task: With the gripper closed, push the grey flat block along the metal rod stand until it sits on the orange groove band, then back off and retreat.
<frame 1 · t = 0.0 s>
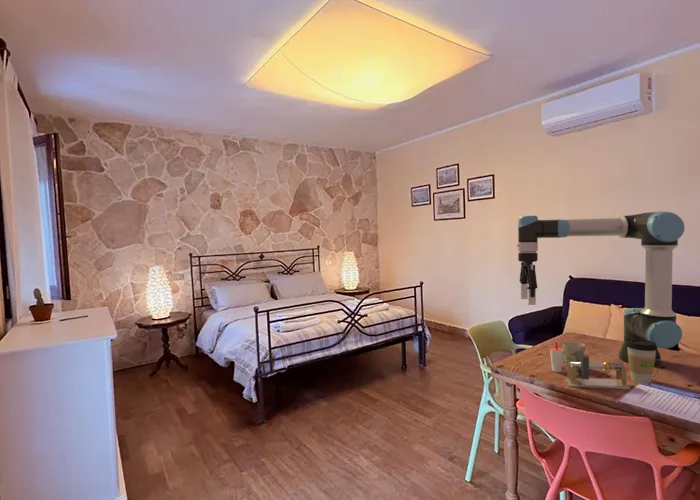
hand: (527, 301, 172), 28 cm above the table, fingers open, 13 cm apart
cup: (556, 371, 167), on the table
mug: (568, 367, 171), on the table
coffee cup: (641, 380, 155), on the table
metal rod stand: (596, 384, 153), on the table
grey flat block: (581, 364, 153), point 7 cm above the table, slide at 0.0 cm
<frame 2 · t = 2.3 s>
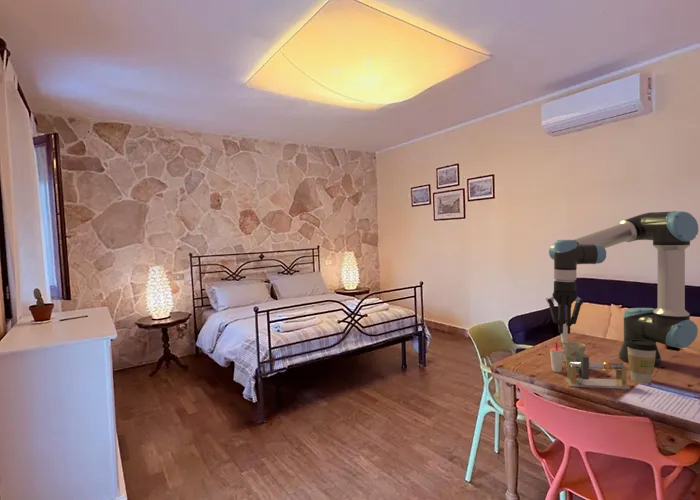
hand: (564, 341, 154), 16 cm above the table, fingers closed
nothing on the table moved.
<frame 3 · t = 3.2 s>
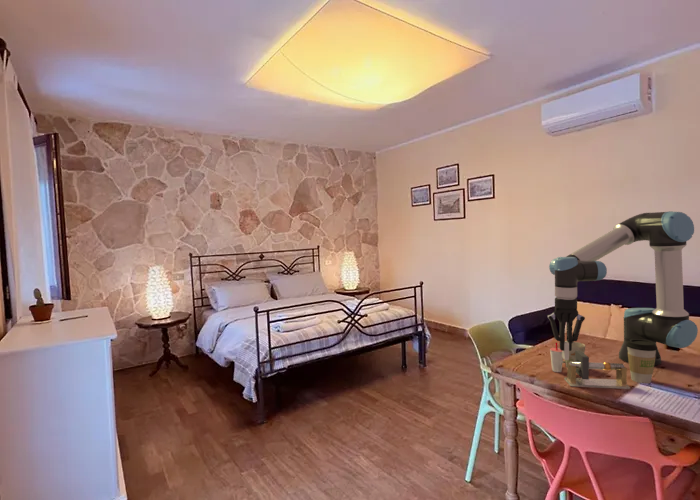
hand: (565, 358, 154), 9 cm above the table, fingers closed
nothing on the table moved.
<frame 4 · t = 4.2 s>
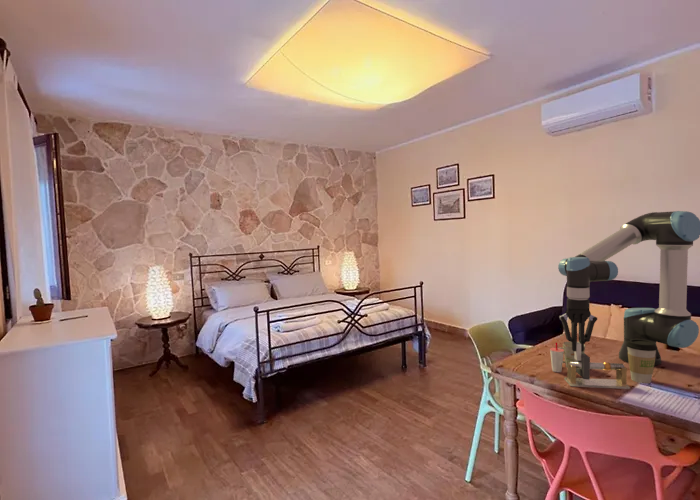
hand: (577, 359, 153), 9 cm above the table, fingers closed
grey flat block: (582, 364, 153), point 7 cm above the table, slide at 0.3 cm, touching gripper
everything else where it was.
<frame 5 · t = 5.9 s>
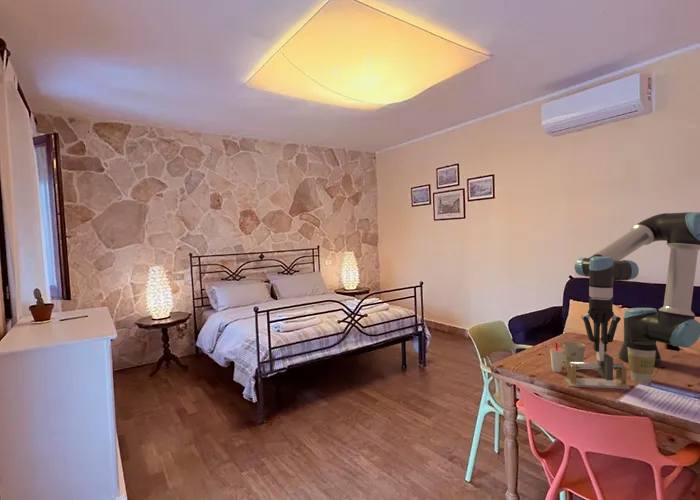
hand: (600, 359, 152), 9 cm above the table, fingers closed
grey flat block: (605, 365, 152), point 7 cm above the table, slide at 8.1 cm, touching gripper
everything else where it was.
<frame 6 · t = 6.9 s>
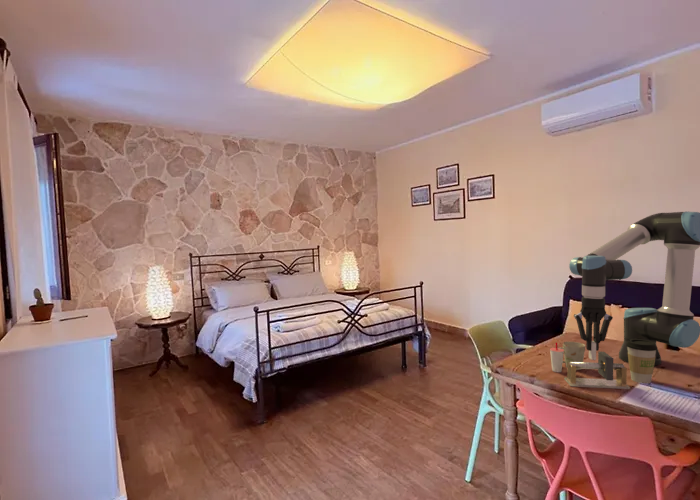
hand: (592, 358, 152), 10 cm above the table, fingers closed
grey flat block: (605, 365, 152), point 7 cm above the table, slide at 8.2 cm
everything else where it was.
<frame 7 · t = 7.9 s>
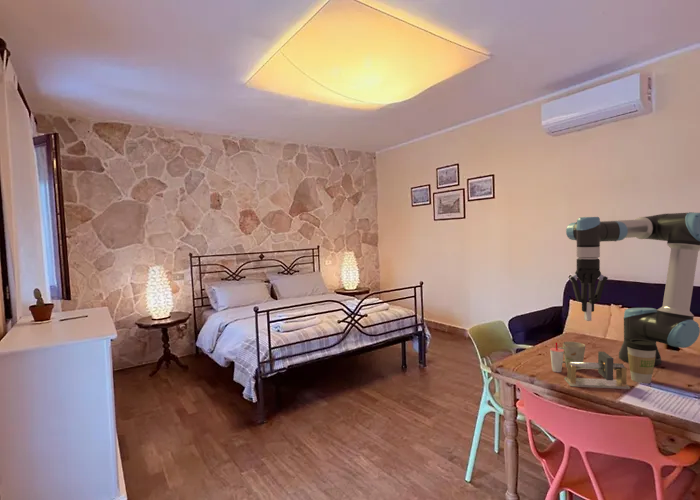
hand: (587, 320, 153), 24 cm above the table, fingers closed
nothing on the table moved.
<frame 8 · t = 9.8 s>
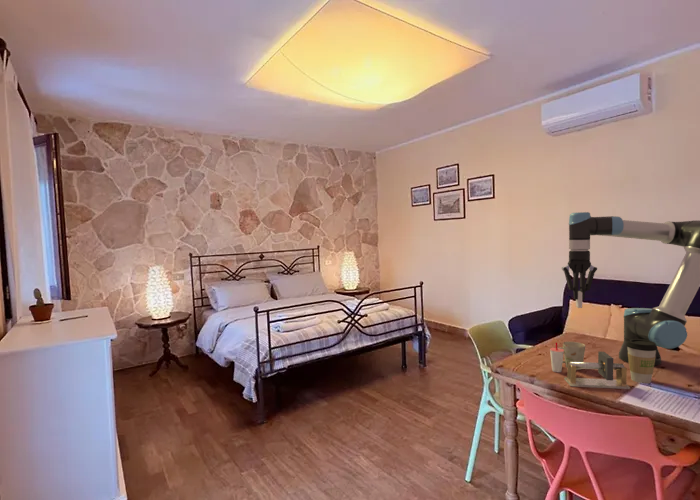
hand: (579, 307, 166), 26 cm above the table, fingers closed
nothing on the table moved.
at the end: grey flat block slide at 8.2 cm; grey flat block touching nothing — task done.
